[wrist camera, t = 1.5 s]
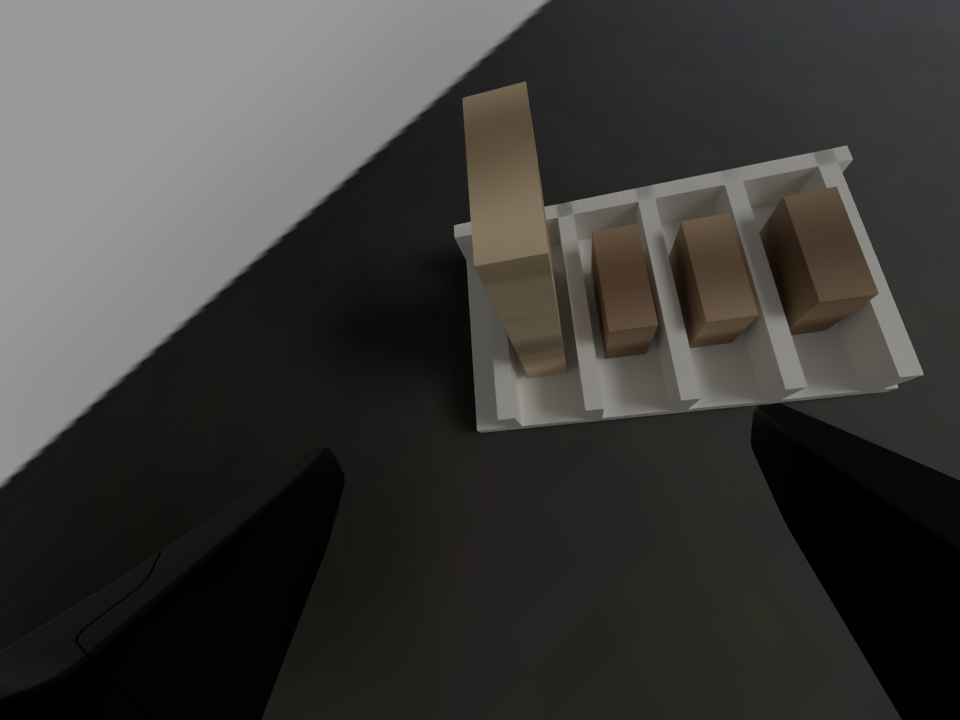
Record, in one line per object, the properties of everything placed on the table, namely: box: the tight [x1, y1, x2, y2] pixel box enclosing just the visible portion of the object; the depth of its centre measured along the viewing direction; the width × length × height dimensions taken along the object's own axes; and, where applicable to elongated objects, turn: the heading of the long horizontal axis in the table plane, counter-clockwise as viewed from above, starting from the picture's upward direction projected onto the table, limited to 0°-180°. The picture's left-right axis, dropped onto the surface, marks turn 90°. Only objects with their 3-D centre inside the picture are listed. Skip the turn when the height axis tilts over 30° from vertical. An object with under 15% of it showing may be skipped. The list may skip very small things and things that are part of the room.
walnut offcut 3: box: [759, 186, 879, 335], centre depth 19 cm, size 5×2×4 cm, turn 4°
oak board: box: [463, 82, 567, 378], centre depth 18 cm, size 6×2×12 cm, turn 4°
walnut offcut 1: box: [591, 224, 658, 359], centre depth 21 cm, size 5×2×4 cm, turn 4°
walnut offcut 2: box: [669, 213, 759, 348], centre depth 20 cm, size 5×2×4 cm, turn 4°
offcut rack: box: [454, 146, 924, 433], centre depth 22 cm, size 11×19×3 cm, turn 94°
